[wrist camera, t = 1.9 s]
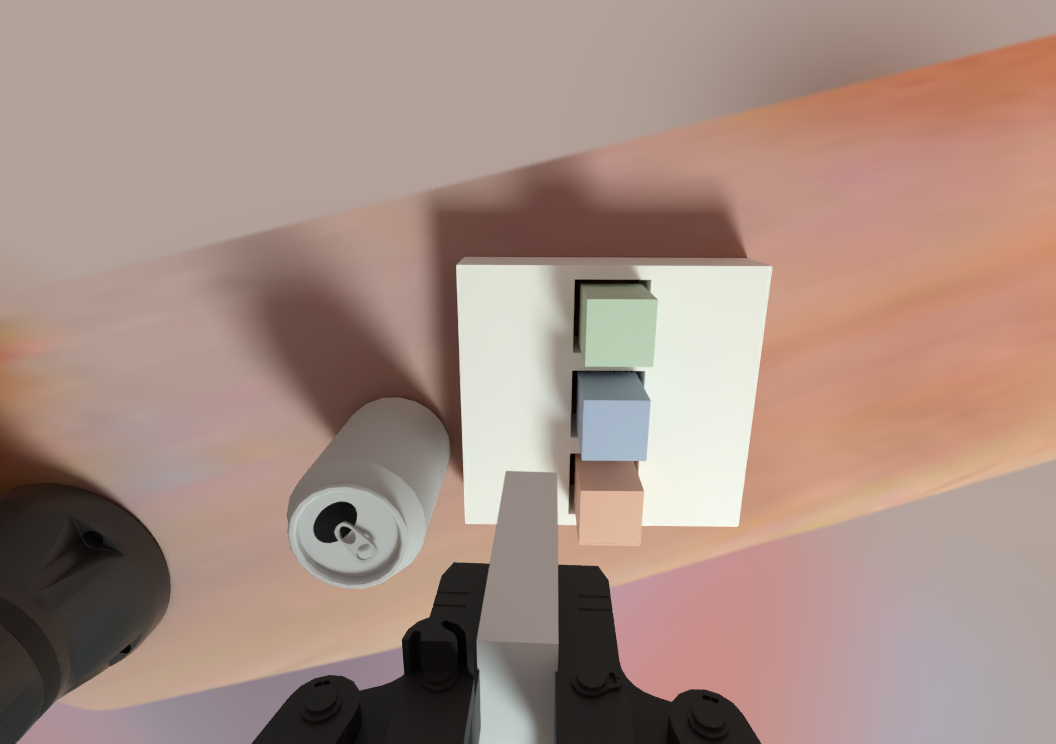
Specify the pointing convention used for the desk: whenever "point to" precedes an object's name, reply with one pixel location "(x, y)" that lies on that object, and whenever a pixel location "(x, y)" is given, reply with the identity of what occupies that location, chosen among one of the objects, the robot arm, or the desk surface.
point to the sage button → (617, 325)
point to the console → (553, 353)
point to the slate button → (612, 416)
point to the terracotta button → (608, 502)
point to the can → (370, 495)
